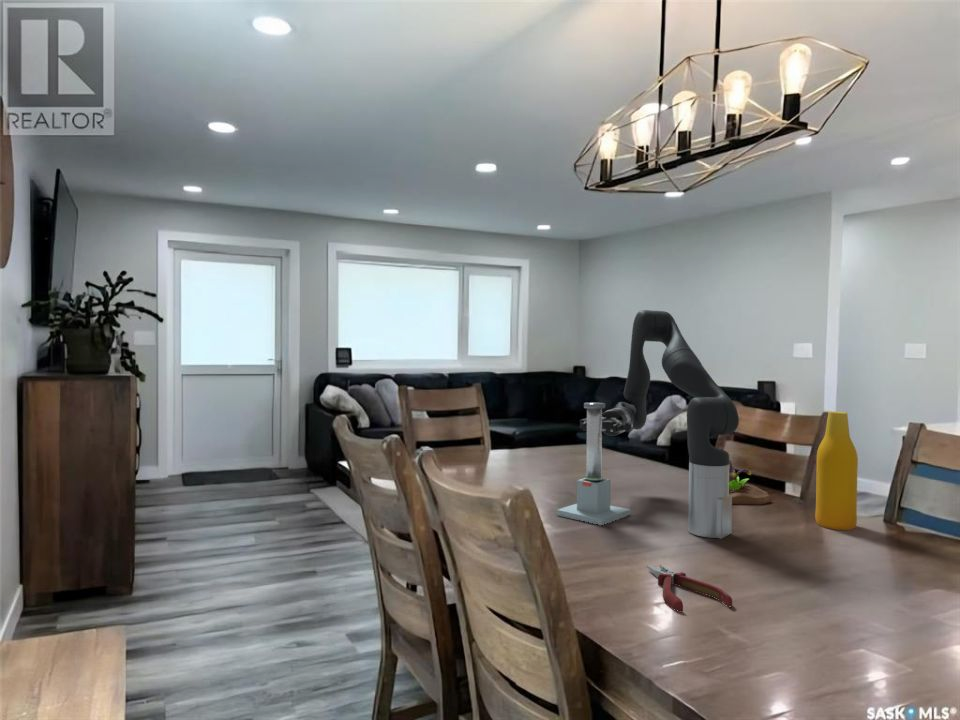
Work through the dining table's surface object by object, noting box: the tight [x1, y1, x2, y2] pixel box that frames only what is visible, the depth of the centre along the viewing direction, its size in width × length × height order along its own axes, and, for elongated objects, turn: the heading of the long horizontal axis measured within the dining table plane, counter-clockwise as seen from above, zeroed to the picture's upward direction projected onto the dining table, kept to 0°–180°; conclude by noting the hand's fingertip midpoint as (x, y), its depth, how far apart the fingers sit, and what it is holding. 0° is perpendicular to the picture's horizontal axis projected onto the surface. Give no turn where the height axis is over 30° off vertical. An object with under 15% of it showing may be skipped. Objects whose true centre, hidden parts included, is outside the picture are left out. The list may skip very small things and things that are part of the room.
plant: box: [729, 459, 771, 506], centre depth 192 cm, size 20×20×11 cm
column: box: [583, 401, 606, 483], centre depth 169 cm, size 6×6×21 cm
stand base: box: [556, 477, 631, 526], centre depth 170 cm, size 14×14×10 cm
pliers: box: [646, 564, 733, 612], centre depth 120 cm, size 12×20×3 cm, turn 11°
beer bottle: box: [814, 411, 859, 531], centre depth 161 cm, size 9×9×29 cm
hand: (598, 428), depth 173 cm, fingers open, 8 cm apart
